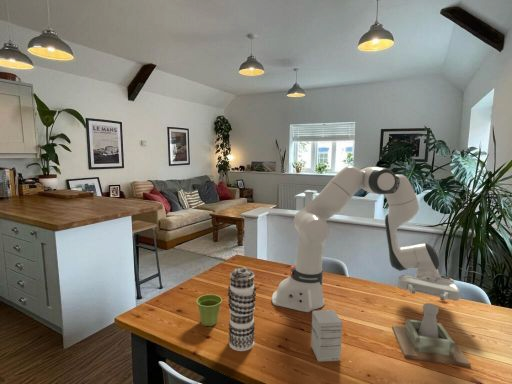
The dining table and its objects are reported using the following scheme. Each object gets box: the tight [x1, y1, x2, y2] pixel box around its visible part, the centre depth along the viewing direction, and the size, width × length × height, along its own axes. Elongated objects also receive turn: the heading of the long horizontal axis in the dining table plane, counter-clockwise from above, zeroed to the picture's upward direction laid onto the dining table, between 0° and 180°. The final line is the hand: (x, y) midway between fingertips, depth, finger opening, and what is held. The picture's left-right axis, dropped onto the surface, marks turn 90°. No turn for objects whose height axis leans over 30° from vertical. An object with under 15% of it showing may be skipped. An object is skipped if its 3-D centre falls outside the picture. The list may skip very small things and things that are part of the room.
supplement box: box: [310, 309, 343, 362], centre depth 90 cm, size 7×7×13 cm
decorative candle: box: [227, 267, 257, 352], centre depth 94 cm, size 9×9×25 cm
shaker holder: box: [391, 318, 472, 368], centre depth 95 cm, size 18×16×6 cm
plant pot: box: [195, 293, 223, 327], centre depth 107 cm, size 9×9×9 cm
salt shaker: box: [418, 302, 439, 338], centre depth 94 cm, size 6×6×13 cm
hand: (427, 295), depth 105 cm, fingers open, 8 cm apart
